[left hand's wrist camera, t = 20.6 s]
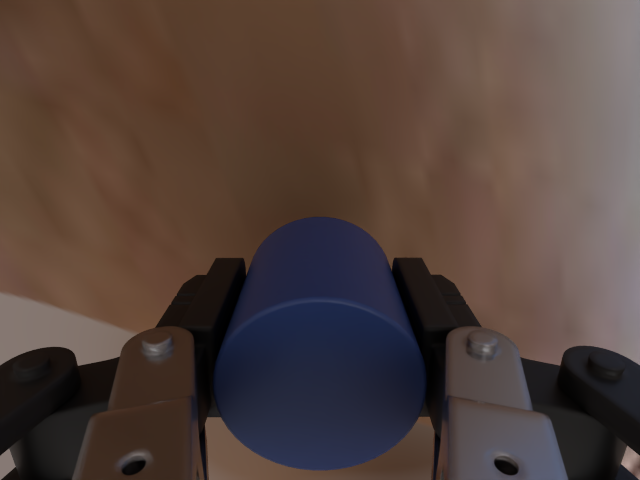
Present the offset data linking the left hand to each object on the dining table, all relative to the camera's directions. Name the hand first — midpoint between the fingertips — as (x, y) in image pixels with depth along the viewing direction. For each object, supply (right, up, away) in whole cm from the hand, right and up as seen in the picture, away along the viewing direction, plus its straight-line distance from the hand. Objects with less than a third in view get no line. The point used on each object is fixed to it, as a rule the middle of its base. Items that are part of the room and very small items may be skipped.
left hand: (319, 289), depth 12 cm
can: (0, 0, 0) cm, 0 cm away
